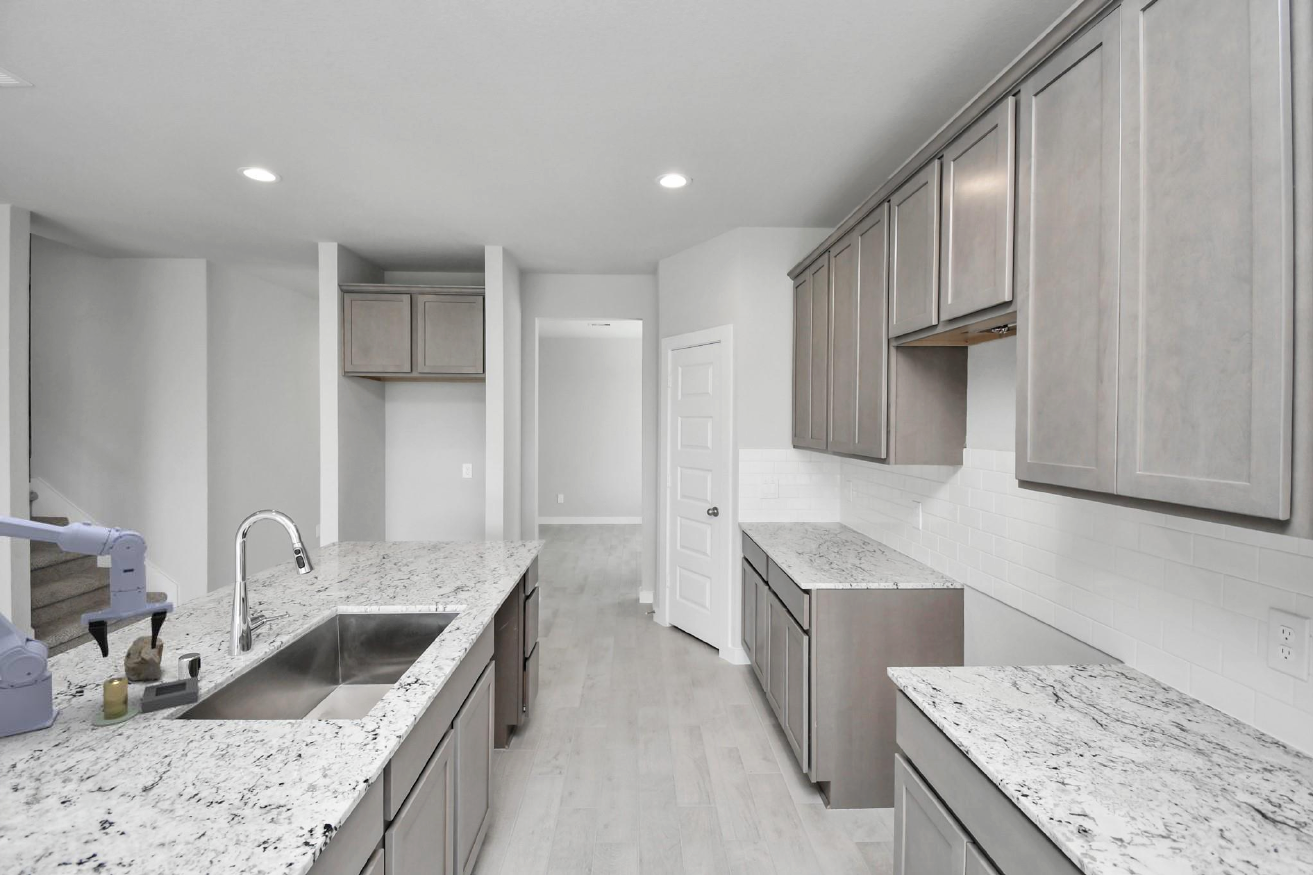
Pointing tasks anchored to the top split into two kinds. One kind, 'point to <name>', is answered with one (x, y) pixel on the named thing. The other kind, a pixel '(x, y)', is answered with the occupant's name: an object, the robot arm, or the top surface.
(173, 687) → the housing
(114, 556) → the robot arm
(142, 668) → the rock
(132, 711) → the mat
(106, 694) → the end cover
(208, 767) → the top surface
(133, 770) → the top surface
